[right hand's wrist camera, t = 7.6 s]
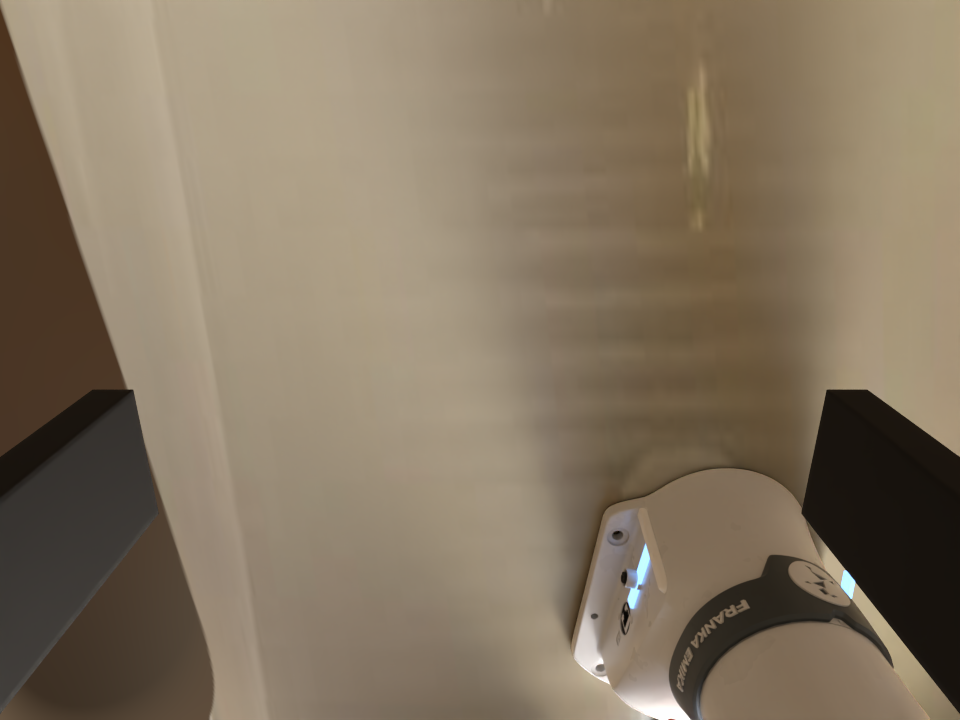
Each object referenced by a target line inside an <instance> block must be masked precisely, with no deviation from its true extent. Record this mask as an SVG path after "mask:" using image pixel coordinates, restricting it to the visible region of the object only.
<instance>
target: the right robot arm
mask: <svg viewBox="0 0 960 720" xmlns="http://www.w3.org/2000/svg"><path fill="white" fill-rule="evenodd" d="M158 514H159V513H158V508H157V503H156V498H155V493H154V488H153V483H152V479H151V474H150V469H149V464H148V459H147V454H146V449H145V445H144V440H143V435H142V430H141V425H140V420H139V415H138V411H137V406H136V401H135V396H134V391H133V390H92V391H90V392H89V393H88V394H86V395H85V396H83V397H82V398H81V399H79V400H78V401H77V402H75V403H74V404H73V405H71V406H70V407H68V408H67V409H66V410H64V411H63V412H61V413H60V414H59V415H57V416H56V417H55V418H53V419H52V420H50V421H49V422H48V423H46V424H45V425H44V426H42V427H41V428H39V429H38V430H37V431H35V432H34V433H33V434H31V435H30V436H29V437H27V438H26V439H24V440H23V441H22V442H20V443H19V444H18V445H16V446H15V447H13V448H12V449H11V450H9V451H8V452H7V453H5V454H4V455H3V456H1V457H0V713H1V712H2V711H3V710H4V708H5V707H6V706H7V705H8V703H9V702H10V701H11V700H12V698H13V697H14V696H15V694H16V693H17V692H18V691H19V689H20V688H21V687H22V686H23V684H24V683H25V682H26V681H27V679H28V678H29V677H30V676H31V674H32V673H33V672H34V670H35V669H36V668H37V667H38V665H39V664H40V663H41V662H42V660H43V659H44V658H45V657H46V655H47V654H48V653H49V651H50V650H51V649H52V648H53V646H54V645H55V644H56V643H57V641H58V640H59V639H60V638H61V636H62V635H63V634H64V633H65V631H66V630H67V629H68V627H69V626H70V625H71V624H72V622H73V621H74V620H75V619H76V617H77V616H78V615H79V614H80V612H81V611H82V610H83V609H84V607H85V606H86V605H87V604H88V602H89V601H90V600H91V598H92V597H93V596H94V595H95V593H96V592H97V591H98V590H99V588H100V587H101V586H102V585H103V583H104V582H105V581H106V580H107V578H108V577H109V576H110V574H111V573H112V572H113V571H114V569H115V568H116V567H117V566H118V564H119V563H120V562H121V561H122V559H123V558H124V557H125V556H126V554H127V553H128V552H129V550H130V549H131V548H132V547H133V545H134V544H135V543H136V542H137V540H138V539H139V538H140V537H141V535H142V534H143V533H144V531H145V530H146V529H147V528H148V526H149V525H150V524H151V523H152V521H153V520H154V519H155V518H156V516H157V515H158ZM801 514H802V515H803V516H804V518H805V519H806V520H807V521H808V523H809V524H810V525H811V526H812V528H813V529H814V530H815V532H816V533H817V534H818V535H819V537H820V538H821V539H822V540H823V542H824V543H825V544H826V545H827V547H828V548H829V549H830V550H831V552H832V553H833V554H834V556H835V557H836V558H837V559H838V561H839V562H840V563H841V564H842V566H843V567H844V568H845V569H846V571H847V572H848V573H849V574H850V576H851V577H852V578H853V580H854V581H855V582H856V583H857V585H858V586H859V587H860V588H861V590H862V591H863V592H864V593H865V595H866V596H867V597H868V598H869V600H870V601H871V602H872V604H873V605H874V606H875V607H876V609H877V610H878V611H879V612H880V614H881V615H882V616H883V617H884V619H885V620H886V621H887V622H888V624H889V625H890V626H891V628H892V629H893V630H894V631H895V633H896V634H897V635H898V636H899V638H900V639H901V640H902V641H903V643H904V644H905V645H906V646H907V648H908V649H909V650H910V652H911V653H912V654H913V655H914V657H915V658H916V659H917V660H918V662H919V663H920V664H921V665H922V667H923V668H924V669H925V670H926V672H927V673H928V674H929V676H930V677H931V678H932V679H933V681H934V682H935V683H936V684H937V686H938V687H939V688H940V689H941V691H942V692H943V693H944V694H945V696H946V697H947V698H948V700H949V701H950V702H951V703H952V705H953V706H954V707H955V708H956V710H957V711H958V712H959V713H960V457H959V456H958V455H956V454H955V453H953V452H952V451H951V450H949V449H948V448H947V447H945V446H944V445H942V444H941V443H940V442H938V441H937V440H936V439H934V438H933V437H931V436H930V435H929V434H927V433H926V432H925V431H923V430H922V429H921V428H919V427H918V426H916V425H915V424H914V423H912V422H911V421H910V420H908V419H907V418H905V417H904V416H903V415H901V414H900V413H899V412H897V411H896V410H894V409H893V408H892V407H890V406H889V405H888V404H886V403H885V402H883V401H882V400H881V399H879V398H878V397H877V396H875V395H874V394H872V393H871V392H870V391H868V390H827V391H826V396H825V401H824V406H823V411H822V415H821V420H820V425H819V430H818V435H817V440H816V445H815V449H814V454H813V459H812V464H811V469H810V474H809V478H808V483H807V488H806V493H805V498H804V503H803V508H802V512H801Z"/></svg>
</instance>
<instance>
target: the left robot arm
mask: <svg viewBox="0 0 960 720" xmlns="http://www.w3.org/2000/svg"><path fill="white" fill-rule="evenodd" d="M801 512H802V508H801V506H800V504H799V503H798V501H797V500H796V498H795V497H794V496H793V495H792V494H791V493H790V491H788V490H787V489H786V488H785V487H784V486H783V485H781V484H780V483H778V482H777V481H775V480H773V479H772V478H770V477H767V476H765V475H763V474H760V473H757V472H753V471H749V470H744V469H736V468H717V469H709V470H704V471H699V472H695V473H692V474H689V475H686V476H683V477H681V478H679V479H677V480H674V481H672V482H671V483H669V484H667V485H665V486H664V487H662V488H660V489H659V490H657V491H655V492H654V493H652V494H650V495H648V496H645V497H643V498H637V499H632V500H627V501H623V502H620V503H616V504H614V505H612V506H610V507H609V508H607V510H606V511H605V512H604V514H603V518H602V521H601V525H600V529H599V533H598V537H597V542H596V546H595V550H594V554H593V558H592V562H591V566H590V570H589V574H588V578H587V582H586V586H585V590H584V594H583V598H582V602H581V606H580V610H579V614H578V618H577V622H576V626H575V630H574V634H573V638H572V642H571V651H572V654H573V657H574V659H575V660H576V661H577V662H578V663H579V665H580V666H582V667H583V668H584V669H585V670H586V671H588V672H589V673H590V674H592V675H593V676H595V677H597V678H598V679H600V680H602V681H604V682H606V683H609V684H610V685H611V687H612V689H613V690H614V692H615V693H616V694H617V695H618V697H619V698H620V699H621V700H622V701H624V702H625V703H626V704H627V705H629V706H630V707H632V708H633V709H635V710H637V711H639V712H641V713H643V714H645V715H648V716H650V717H653V718H655V719H657V720H931V719H930V718H929V717H928V715H927V714H926V713H925V711H924V710H923V708H922V707H921V706H920V704H919V703H918V702H917V700H916V699H915V698H914V696H913V695H912V694H911V692H910V691H909V689H908V688H907V687H906V685H905V684H904V683H903V681H902V680H901V679H900V677H899V676H898V675H897V673H896V672H895V671H894V667H893V663H892V659H891V656H890V654H889V652H888V650H887V648H886V647H885V645H884V644H883V642H882V641H881V639H880V638H879V636H878V635H877V633H876V632H875V631H874V629H873V628H872V626H871V625H870V623H869V622H868V620H867V619H866V618H865V616H864V615H863V614H862V612H861V611H860V610H859V608H858V607H857V606H856V604H855V603H854V602H853V600H852V595H853V590H854V585H855V581H854V580H853V578H852V577H851V576H850V574H849V573H848V572H847V571H844V573H843V579H842V584H841V586H840V585H839V584H838V583H837V582H836V581H835V580H834V579H833V578H832V577H831V576H830V575H829V573H828V572H827V570H826V568H825V566H824V564H823V562H822V560H821V558H820V556H819V554H818V552H817V550H816V548H815V545H814V543H813V540H812V538H811V535H810V532H809V529H808V526H807V522H806V519H805V518H804V516H803V515H802V514H801ZM615 531H621V532H620V533H619V534H613V532H615ZM598 664H601V665H598Z"/></svg>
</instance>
